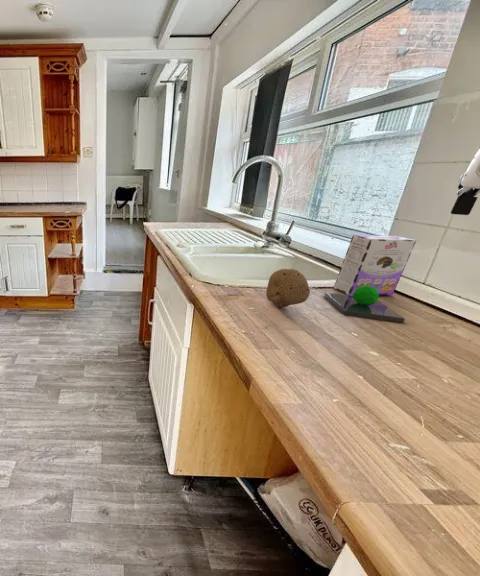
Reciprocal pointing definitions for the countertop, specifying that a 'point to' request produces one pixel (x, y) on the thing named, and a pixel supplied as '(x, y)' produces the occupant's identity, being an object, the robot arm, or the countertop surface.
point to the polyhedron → (366, 295)
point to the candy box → (374, 263)
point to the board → (363, 308)
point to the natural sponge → (287, 288)
